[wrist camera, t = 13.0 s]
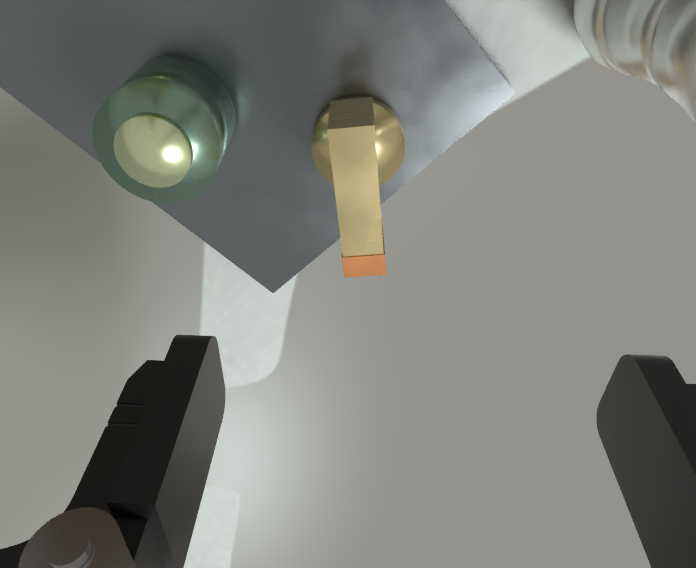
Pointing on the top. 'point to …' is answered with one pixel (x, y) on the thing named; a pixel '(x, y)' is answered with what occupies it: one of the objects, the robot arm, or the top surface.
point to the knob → (359, 174)
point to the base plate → (243, 103)
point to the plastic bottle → (644, 41)
